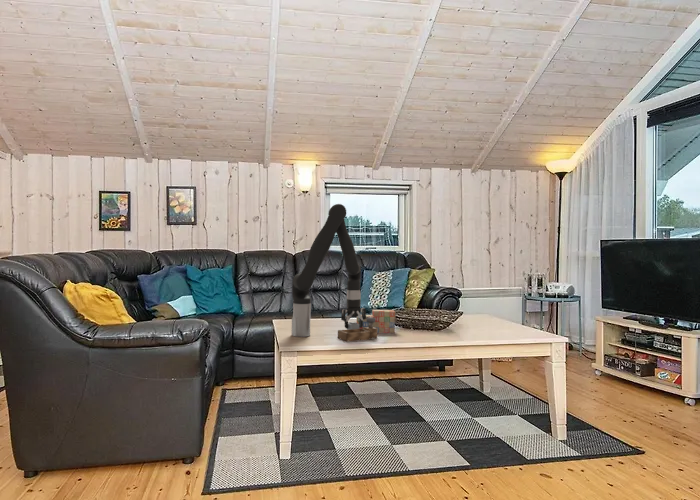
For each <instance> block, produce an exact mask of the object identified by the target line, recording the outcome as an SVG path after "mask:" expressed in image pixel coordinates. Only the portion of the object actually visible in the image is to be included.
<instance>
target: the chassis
mask: <svg viewBox="0 0 700 500" xmlns="http://www.w3.org/2000/svg"><path fill="white" fill-rule="evenodd" d="M337 338H338V339H340V340H342V341H345V342H356V341H367V340H372V339H377V338H378V333H377V328H374V327H373V323H370V322H369V327H365V328H364V329H350V330H347V329H338V330H337Z"/></svg>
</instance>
